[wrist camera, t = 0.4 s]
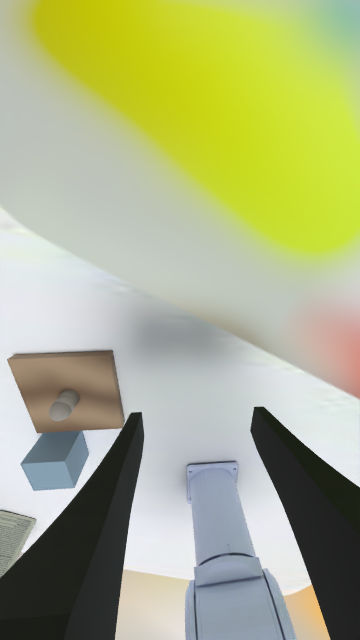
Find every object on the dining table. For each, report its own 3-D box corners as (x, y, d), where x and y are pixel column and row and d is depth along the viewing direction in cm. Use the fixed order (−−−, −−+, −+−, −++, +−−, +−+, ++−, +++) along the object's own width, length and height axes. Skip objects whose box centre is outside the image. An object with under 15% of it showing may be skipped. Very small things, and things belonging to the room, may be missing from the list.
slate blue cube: (88, 454, 25) (74, 487, 22) (54, 456, 25) (33, 490, 21) (81, 429, 24) (64, 461, 20) (44, 431, 24) (20, 464, 20)
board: (124, 421, 24) (115, 451, 20) (42, 426, 23) (18, 457, 20) (112, 350, 20) (98, 371, 16) (14, 354, 20) (-22, 376, 16)
